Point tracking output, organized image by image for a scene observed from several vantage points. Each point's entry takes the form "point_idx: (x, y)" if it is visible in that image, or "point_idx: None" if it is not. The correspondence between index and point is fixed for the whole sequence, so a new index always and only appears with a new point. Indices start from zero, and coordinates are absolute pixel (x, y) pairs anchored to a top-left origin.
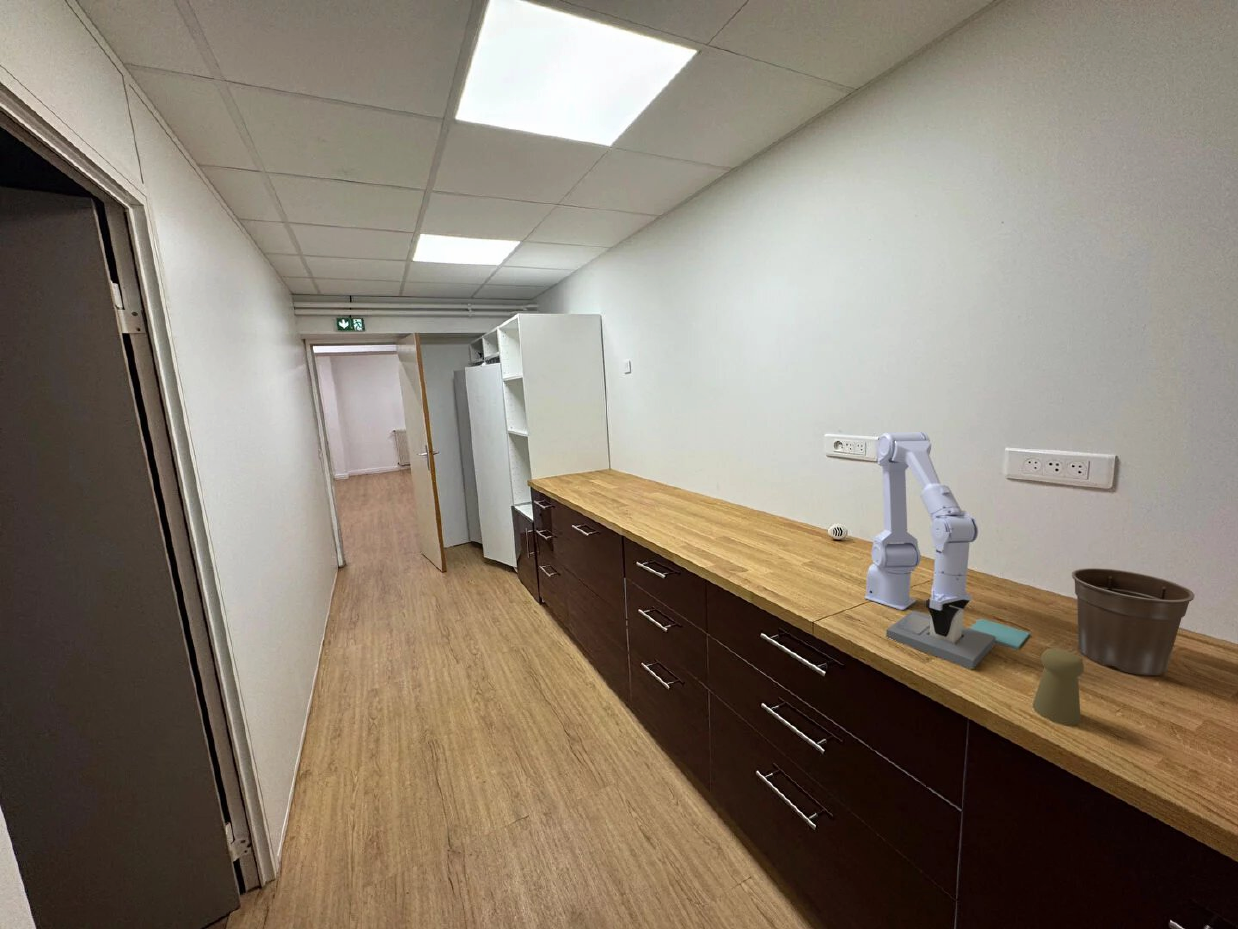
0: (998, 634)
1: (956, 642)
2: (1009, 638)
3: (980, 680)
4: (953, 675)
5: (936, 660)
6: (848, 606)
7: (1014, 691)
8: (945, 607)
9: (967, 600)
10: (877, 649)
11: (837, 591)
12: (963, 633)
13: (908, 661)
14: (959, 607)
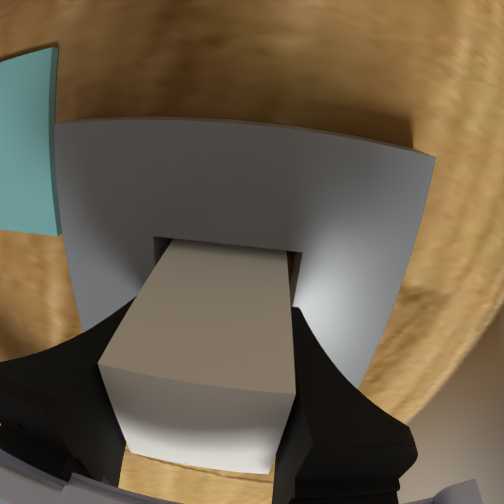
0: (3, 139)
1: (239, 249)
2: (7, 99)
3: (470, 117)
4: (484, 205)
5: (409, 272)
6: (198, 473)
7: (465, 13)
8: (382, 492)
9: (44, 415)
10: (417, 398)
11: (143, 482)
12: (137, 245)
13: (454, 331)
14: (98, 384)
